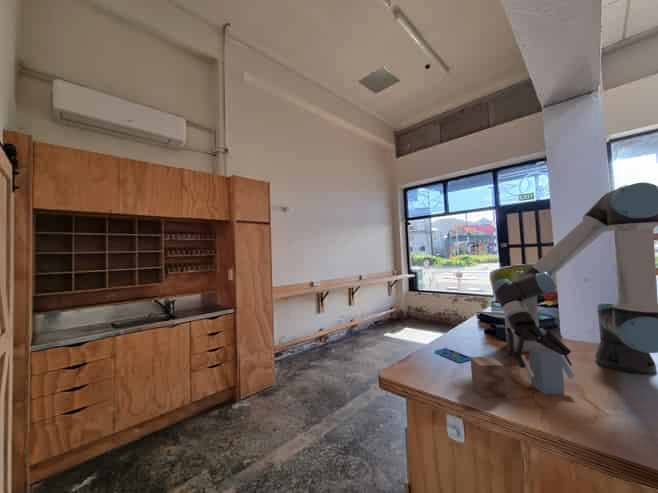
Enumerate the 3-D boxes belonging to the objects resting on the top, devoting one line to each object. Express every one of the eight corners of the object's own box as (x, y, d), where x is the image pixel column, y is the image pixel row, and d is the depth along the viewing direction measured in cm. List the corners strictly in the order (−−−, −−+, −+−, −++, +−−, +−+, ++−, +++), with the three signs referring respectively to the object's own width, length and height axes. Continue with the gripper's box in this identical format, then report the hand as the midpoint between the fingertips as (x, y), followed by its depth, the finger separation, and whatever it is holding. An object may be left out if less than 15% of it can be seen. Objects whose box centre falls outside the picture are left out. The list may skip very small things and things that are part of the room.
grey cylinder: (500, 343, 129) (497, 291, 130) (527, 342, 128) (523, 290, 129) (518, 353, 116) (514, 295, 117) (548, 352, 116) (543, 293, 117)
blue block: (550, 384, 89) (547, 347, 90) (564, 393, 83) (561, 354, 84) (531, 384, 90) (528, 348, 90) (543, 393, 84) (540, 354, 84)
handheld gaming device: (446, 347, 126) (474, 357, 112) (446, 349, 126) (474, 360, 112) (432, 350, 123) (459, 361, 109) (432, 352, 123) (459, 364, 109)
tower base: (494, 386, 90) (493, 371, 90) (506, 398, 83) (505, 381, 83) (472, 387, 91) (471, 372, 91) (482, 398, 84) (481, 381, 84)
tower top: (493, 371, 90) (492, 356, 90) (504, 381, 83) (503, 365, 83) (471, 371, 91) (470, 356, 91) (480, 381, 84) (479, 365, 84)
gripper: (548, 320, 102) (586, 381, 86) (482, 322, 104) (507, 382, 88) (557, 309, 96) (600, 372, 81) (487, 311, 99) (516, 372, 83)
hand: (552, 377), depth 84 cm, fingers open, 11 cm apart
